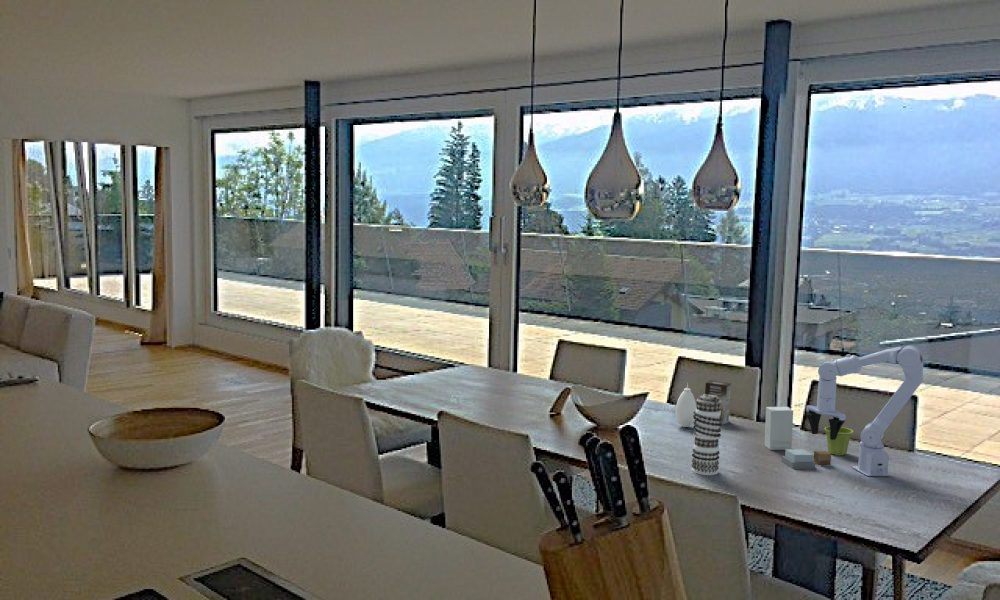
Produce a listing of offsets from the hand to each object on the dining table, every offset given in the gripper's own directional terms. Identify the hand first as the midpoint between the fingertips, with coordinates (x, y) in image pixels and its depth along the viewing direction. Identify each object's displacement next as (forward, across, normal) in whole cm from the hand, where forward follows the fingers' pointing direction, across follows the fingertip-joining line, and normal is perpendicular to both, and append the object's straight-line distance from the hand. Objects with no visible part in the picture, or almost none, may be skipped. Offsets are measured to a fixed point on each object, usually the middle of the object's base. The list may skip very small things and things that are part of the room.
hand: (823, 436), depth 286 cm
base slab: (+10, +2, +9) cm, 14 cm away
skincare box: (+10, +20, -1) cm, 22 cm away
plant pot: (+10, +6, -16) cm, 19 cm away
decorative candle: (+10, +10, +43) cm, 46 cm away
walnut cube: (+10, 0, 0) cm, 10 cm away
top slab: (+8, +2, +9) cm, 12 cm away
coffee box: (+10, +59, -8) cm, 61 cm away
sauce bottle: (+10, +57, +10) cm, 59 cm away
